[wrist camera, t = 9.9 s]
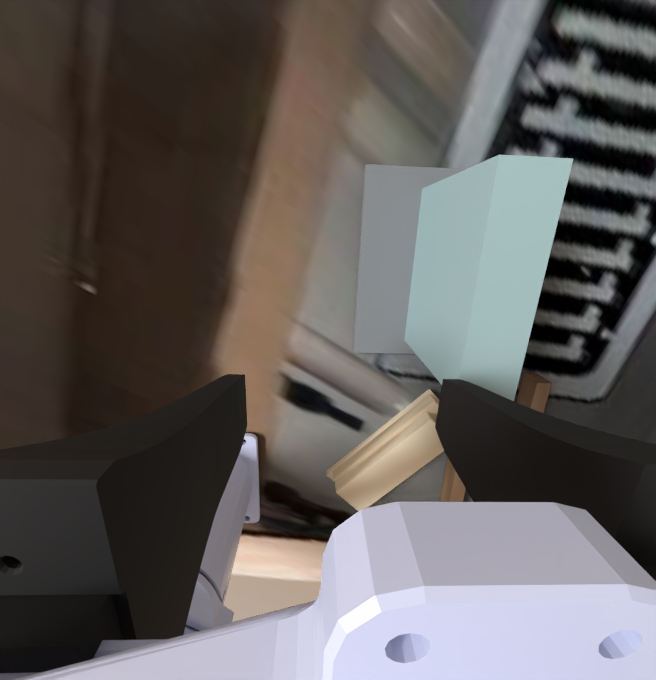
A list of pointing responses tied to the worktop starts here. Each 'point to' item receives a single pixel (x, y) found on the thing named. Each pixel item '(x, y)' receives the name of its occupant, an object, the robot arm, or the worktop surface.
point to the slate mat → (388, 253)
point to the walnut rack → (529, 395)
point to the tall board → (483, 267)
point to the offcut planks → (389, 454)
